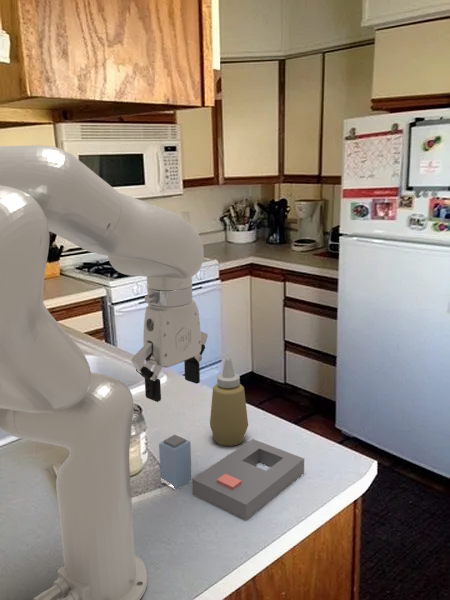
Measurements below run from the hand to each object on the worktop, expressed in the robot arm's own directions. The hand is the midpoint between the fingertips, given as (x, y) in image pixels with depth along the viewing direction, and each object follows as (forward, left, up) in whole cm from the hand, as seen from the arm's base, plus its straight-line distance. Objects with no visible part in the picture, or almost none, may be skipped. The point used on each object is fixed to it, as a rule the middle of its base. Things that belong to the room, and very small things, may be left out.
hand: (173, 390), depth 98 cm
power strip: (+8, -11, -18) cm, 23 cm away
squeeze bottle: (+18, +2, -18) cm, 26 cm away
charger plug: (0, 0, -18) cm, 18 cm away
